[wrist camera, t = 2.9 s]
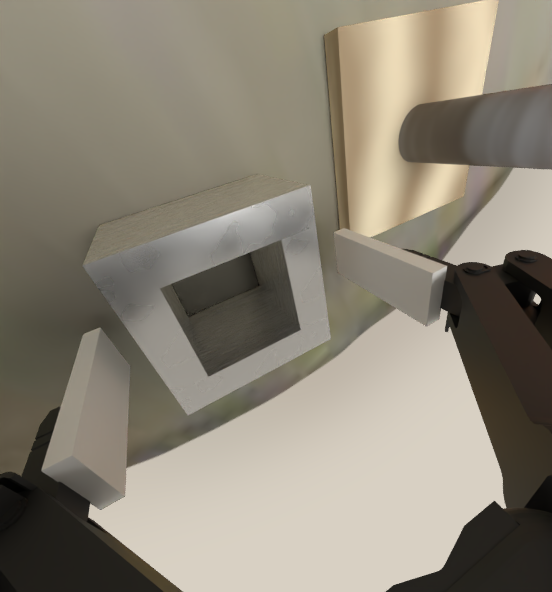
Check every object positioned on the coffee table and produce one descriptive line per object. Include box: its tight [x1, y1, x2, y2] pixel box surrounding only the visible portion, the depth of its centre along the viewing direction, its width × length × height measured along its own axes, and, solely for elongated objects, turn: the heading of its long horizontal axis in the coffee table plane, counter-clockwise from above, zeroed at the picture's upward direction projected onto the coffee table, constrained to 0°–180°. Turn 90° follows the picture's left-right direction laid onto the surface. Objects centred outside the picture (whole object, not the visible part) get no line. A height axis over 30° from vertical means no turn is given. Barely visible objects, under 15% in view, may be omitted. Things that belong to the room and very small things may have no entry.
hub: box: [82, 174, 331, 415], centre depth 15 cm, size 9×9×6 cm
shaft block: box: [324, 0, 552, 237], centre depth 15 cm, size 12×12×10 cm
